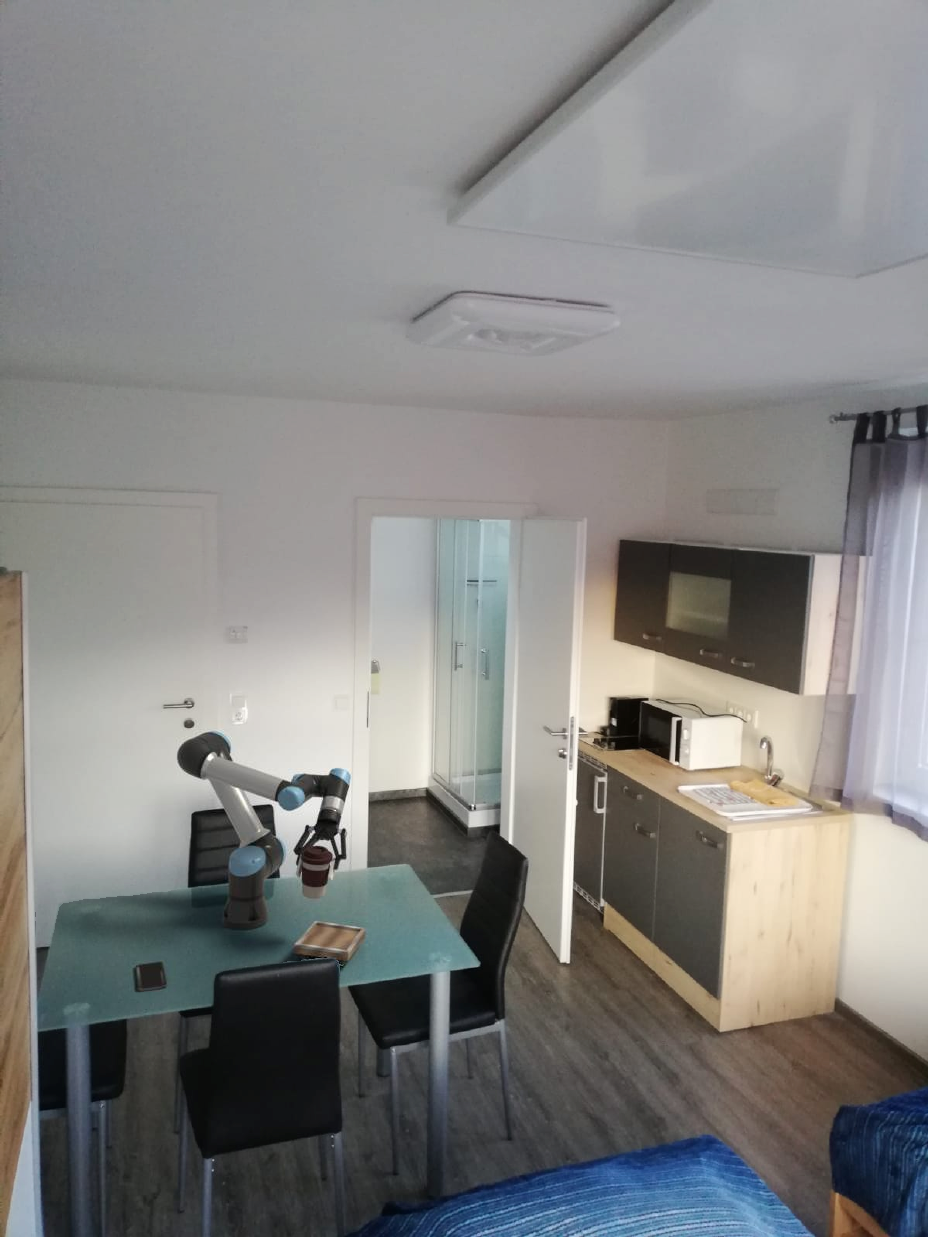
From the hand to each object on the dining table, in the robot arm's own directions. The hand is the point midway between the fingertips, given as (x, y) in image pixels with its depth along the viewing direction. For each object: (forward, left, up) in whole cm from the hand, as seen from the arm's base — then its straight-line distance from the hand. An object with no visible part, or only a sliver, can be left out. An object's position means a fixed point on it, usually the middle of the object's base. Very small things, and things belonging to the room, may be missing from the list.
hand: (313, 877), depth 282 cm
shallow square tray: (+8, -5, -22) cm, 24 cm away
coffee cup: (-1, +3, -7) cm, 7 cm away
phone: (-36, -34, -22) cm, 54 cm away
